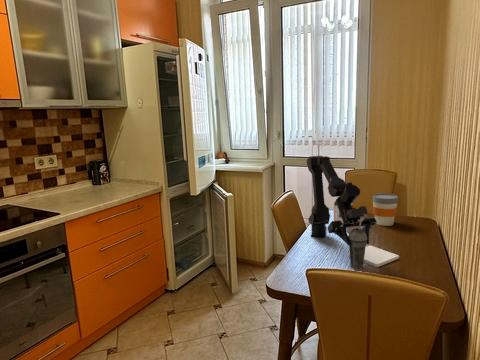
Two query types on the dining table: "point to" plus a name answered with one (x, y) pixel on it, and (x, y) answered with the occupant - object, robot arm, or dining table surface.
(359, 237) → the beverage cup
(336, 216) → the patterned box
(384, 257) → the board
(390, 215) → the reusable coffee cup
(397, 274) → the dining table surface
